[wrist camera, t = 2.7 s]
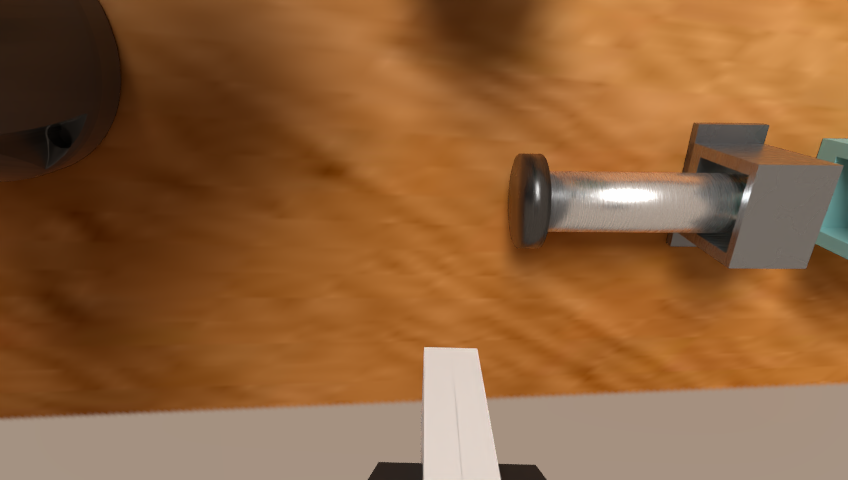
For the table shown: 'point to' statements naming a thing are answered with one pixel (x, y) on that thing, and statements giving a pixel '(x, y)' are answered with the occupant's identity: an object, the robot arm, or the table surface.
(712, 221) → the plunger
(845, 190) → the socket
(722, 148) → the guide
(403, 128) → the table surface
